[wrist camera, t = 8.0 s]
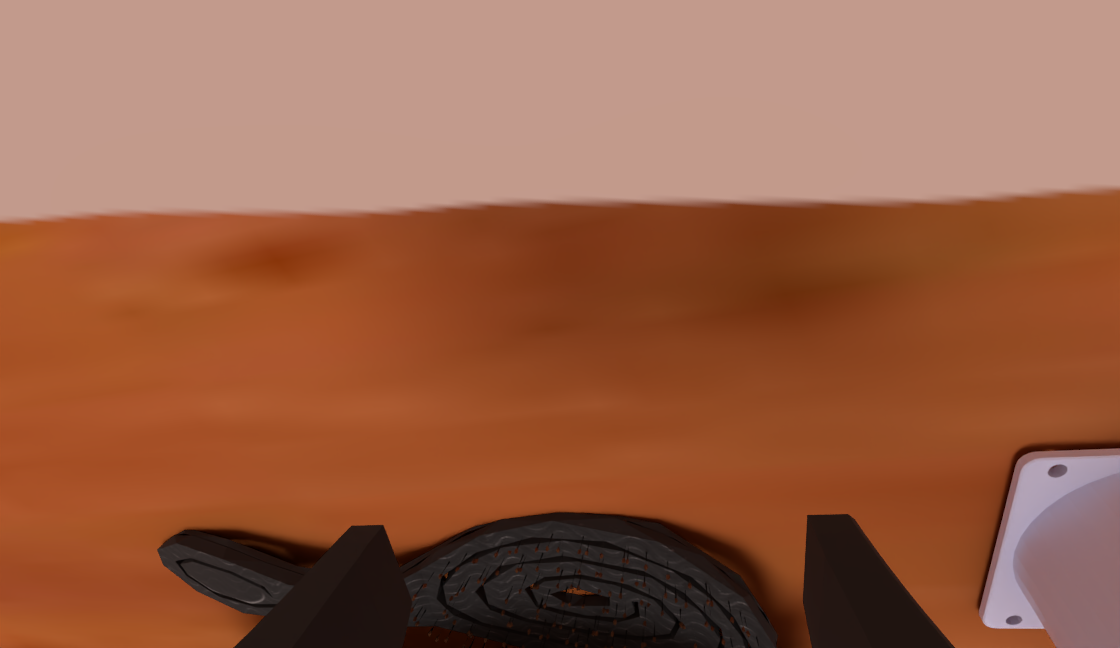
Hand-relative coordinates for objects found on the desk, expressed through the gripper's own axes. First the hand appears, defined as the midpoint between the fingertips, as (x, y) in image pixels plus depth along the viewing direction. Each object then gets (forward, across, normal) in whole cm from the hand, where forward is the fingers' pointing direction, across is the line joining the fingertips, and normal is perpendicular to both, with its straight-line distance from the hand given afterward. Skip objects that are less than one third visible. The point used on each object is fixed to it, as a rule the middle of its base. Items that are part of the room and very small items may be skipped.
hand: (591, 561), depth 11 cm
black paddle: (+10, +8, +12) cm, 17 cm away
